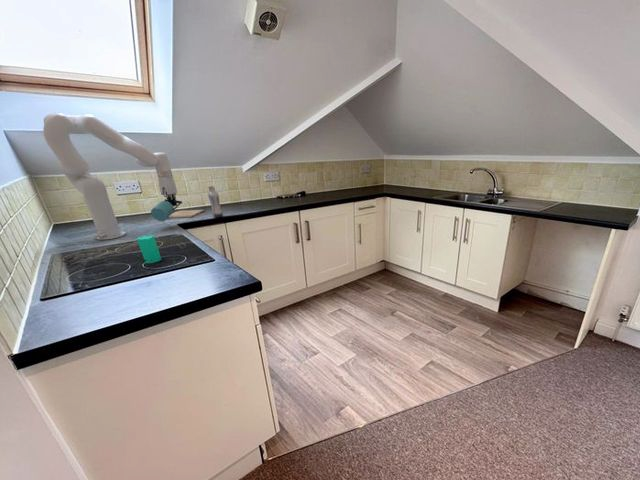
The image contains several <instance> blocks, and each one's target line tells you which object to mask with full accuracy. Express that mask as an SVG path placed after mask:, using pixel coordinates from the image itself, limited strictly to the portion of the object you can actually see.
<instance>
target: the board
mask: <svg viewBox="0 0 640 480" xmlns="http://www.w3.org/2000/svg"><path fill="white" fill-rule="evenodd" d="M204 212H205V209H187V210H185V209H183V210H178V211H174V212H173V213H172V214H171V215H170V216H169V217H168V218H167V219H188V218H190V219H191V218H194V217H196V216H198V215H200V214H203V213H204Z"/></svg>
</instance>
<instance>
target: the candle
mask: <svg viewBox="0 0 640 480" xmlns="http://www.w3.org/2000/svg"><path fill="white" fill-rule="evenodd" d="M136 240H137V243H138V245H139V246H138V247H139V249H140V251H141V254H142V257H143V260H144V262H145V263H146V264H153V263H158V262H160V261H162V256H161V254H160V251H159V247H158V244H157V241H156V238H155V236H154V234H147V235H145V233H143V236H139V237H137V238H136ZM145 260H146V261H145ZM150 260H152V261H150Z"/></svg>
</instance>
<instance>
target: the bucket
mask: <svg viewBox="0 0 640 480" xmlns="http://www.w3.org/2000/svg"><path fill="white" fill-rule="evenodd" d="M174 203H177V206H173V205H172V204H171V203H169V202H168V200H167V198H164V200H161V201H160V202H158V204H156V205H155V206H154V207H153V208H152V209H151V210H150V214H151V216H152V218H154V219H155V220H156V221H158V222H165V221H166V220H167V219H169V218H168V217H169V216H170V215H171V214H172V213H175V210H177V208H179V206H180V205H182V204H183V201H181V200H177V199H176V200H174Z"/></svg>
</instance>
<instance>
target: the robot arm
mask: <svg viewBox="0 0 640 480" xmlns="http://www.w3.org/2000/svg"><path fill="white" fill-rule="evenodd" d="M42 132H43V137H44V140H45V142H46V144H47V146H48V147H49V149H51V151H52V152H53V154H54V155H55V157H56V158H57V159H58V160H57V165H58V167H59V169H60V171H61V172H62V173H63V174H64V176H65V177H66V178H67V179H68V181H69V182H70V183H71V184H72V186H73V187H74V188H75V189H76V191H78V192H80V193H81V194H83V197H84V202H85V204H86V207H87V209H88V211H89V214H90V217H91V219H92V221H93V223H94V226H95V229H96V231H95V232H96V233H94V234H92V235H91V238H92V239H96V240H98V241H105V240H113V239H117V238H118V239H119V238H122V237H124V236H126V232H125V231H122V230H121V228H120V225H119V223H118V220H117V218H116V214H115V211H114V209H113V206H112V204H111V201H110V197H109V193H108V190H107V187H106V185H105V183H104V181H102V180H101V179H99V178H97V177H95V176H93V175H92V174H91V173H90V171H89V168H90V167H89V164H88V163H87V161H86V159H84V157H83V156H82V154H81V153H80V152H79V151H78V150H77V148H76V147H75V145H74V143H73V142H72V140H71V137H70V136H71V135H88V134H91V135H92V136H93V137H95V138H97V139H98V140H100V141H102V142H103V143H105V144H106V145H108V146H110V147H111V148H113V149H114V150H117V151H120V152H123V153H126V154H128V155H130V156H131V157H134V159H135V162H136V163H137V164H138V165H139V166H141V167H145V168H155V172H156V175H157V180H158V187H159V192H160V194H161V196H163V198H165V199H167V200H168V202H169V203H171V204H172V205H173V207H176V206H177V205H178V203H174V200H176V201H177V197H176V195H177V194H178V193H177V192H178V189H177V186H176V182H175V180H174V176H173V172H172V168H171V165H170V162H169V161H170V160H169V157H168V154H167V152H152V151H150V150H149V149H148V148H146V147H145V146H143V145H142V144H141V143H138V142H137V141H134V140H132V139H131V138H129V137H128V136H126V135H124V134H122V133H121V132H119V131H118V130H117V129H115V128H113V127H112V126H110V125H109V124H107V123H106V122H104V121H103V120H102V119H100V118H98V117H97V116H95V115H93V114H89V113H87V114H85V113H84V114H81V115H79V114H77V115H76V114H75V115H72V114H64V113H61V112H52V113H49V114H46V115H45V116H44V117H43V130H42Z"/></svg>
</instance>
